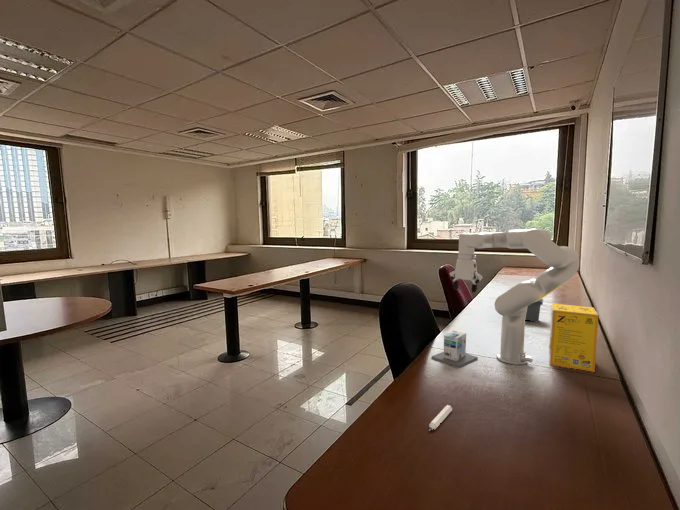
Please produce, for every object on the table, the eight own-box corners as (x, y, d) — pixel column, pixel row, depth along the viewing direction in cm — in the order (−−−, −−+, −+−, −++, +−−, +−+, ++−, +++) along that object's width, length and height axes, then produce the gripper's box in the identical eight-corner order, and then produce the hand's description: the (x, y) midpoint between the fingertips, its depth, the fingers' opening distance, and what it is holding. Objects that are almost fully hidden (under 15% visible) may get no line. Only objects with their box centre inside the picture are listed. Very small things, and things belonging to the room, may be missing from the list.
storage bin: (505, 319, 226) (506, 298, 225) (507, 314, 240) (507, 294, 238) (542, 324, 216) (543, 302, 214) (542, 318, 229) (543, 297, 228)
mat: (477, 359, 158) (477, 357, 158) (458, 368, 148) (458, 365, 148) (451, 350, 169) (451, 348, 169) (431, 358, 159) (431, 356, 159)
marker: (428, 435, 101) (447, 412, 114) (434, 434, 100) (453, 411, 113) (424, 427, 102) (444, 404, 114) (430, 425, 101) (449, 403, 113)
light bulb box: (457, 361, 152) (457, 338, 151) (442, 358, 157) (443, 335, 156) (466, 355, 160) (466, 332, 159) (452, 351, 165) (452, 330, 164)
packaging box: (548, 353, 166) (551, 303, 164) (589, 360, 157) (593, 307, 155) (549, 364, 152) (552, 310, 150) (594, 373, 143) (598, 315, 141)
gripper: (486, 258, 168) (484, 292, 169) (454, 255, 181) (453, 287, 182) (479, 259, 163) (477, 294, 164) (446, 256, 176) (445, 289, 177)
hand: (464, 290), depth 173 cm, fingers open, 9 cm apart
